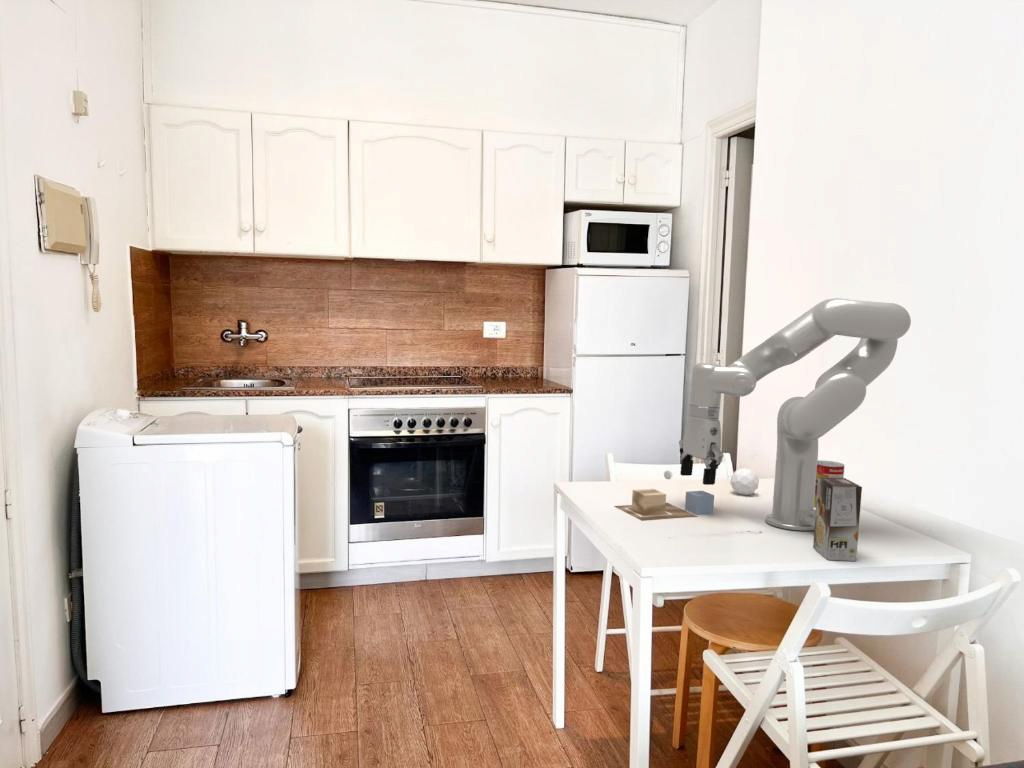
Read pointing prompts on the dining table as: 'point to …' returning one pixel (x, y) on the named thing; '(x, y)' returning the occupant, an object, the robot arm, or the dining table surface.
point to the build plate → (670, 513)
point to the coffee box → (837, 518)
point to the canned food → (828, 472)
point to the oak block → (648, 502)
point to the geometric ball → (744, 481)
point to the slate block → (699, 502)
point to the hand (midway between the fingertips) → (697, 479)
